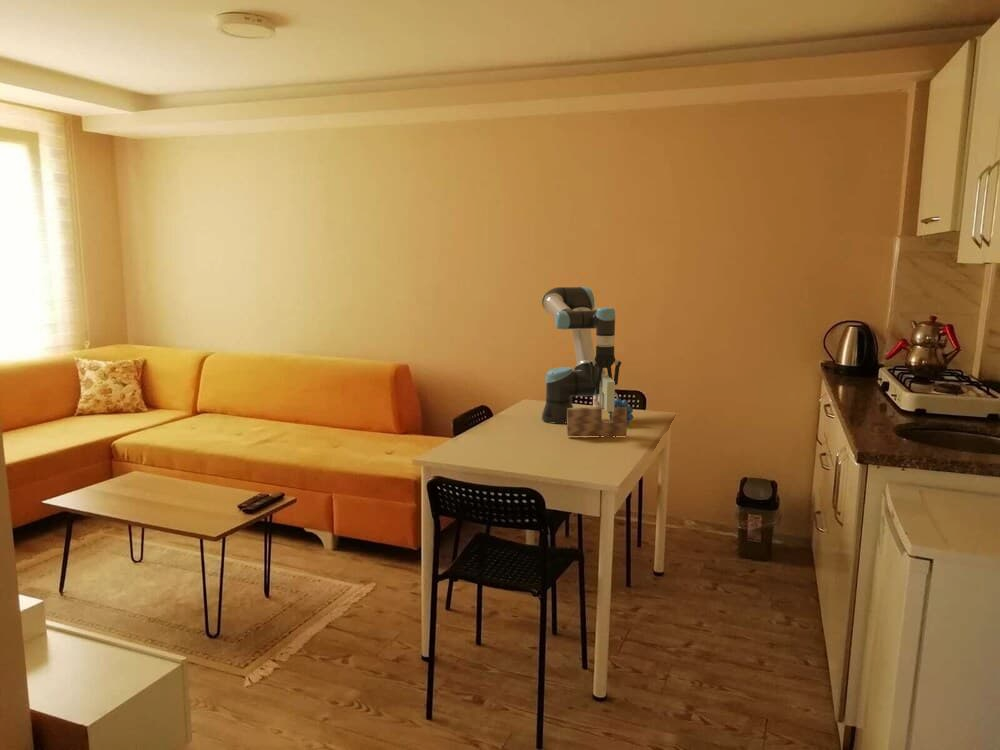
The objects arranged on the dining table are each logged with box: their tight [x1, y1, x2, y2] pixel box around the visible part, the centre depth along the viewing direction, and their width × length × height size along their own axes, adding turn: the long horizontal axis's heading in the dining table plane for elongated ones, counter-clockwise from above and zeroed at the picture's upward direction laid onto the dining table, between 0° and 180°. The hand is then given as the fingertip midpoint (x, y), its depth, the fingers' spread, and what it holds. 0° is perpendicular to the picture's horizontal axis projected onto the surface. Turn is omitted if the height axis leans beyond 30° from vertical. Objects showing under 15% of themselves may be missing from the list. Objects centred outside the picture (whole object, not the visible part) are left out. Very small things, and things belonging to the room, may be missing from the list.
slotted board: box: [566, 407, 628, 437], centre depth 296 cm, size 24×3×12 cm, turn 92°
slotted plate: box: [600, 374, 616, 413], centre depth 294 cm, size 16×3×12 cm, turn 2°
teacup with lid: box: [592, 392, 619, 409], centre depth 351 cm, size 12×9×12 cm
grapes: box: [607, 397, 634, 426], centre depth 315 cm, size 12×7×12 cm, turn 71°
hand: (604, 401), depth 301 cm, fingers closed on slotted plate, 3 cm apart
